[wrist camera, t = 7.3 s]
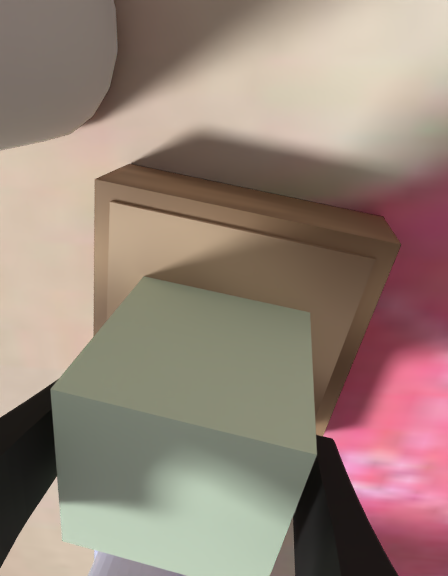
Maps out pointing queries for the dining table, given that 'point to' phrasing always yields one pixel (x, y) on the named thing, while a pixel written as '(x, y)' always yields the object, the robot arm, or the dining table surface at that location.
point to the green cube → (187, 431)
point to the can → (53, 66)
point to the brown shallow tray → (245, 257)
